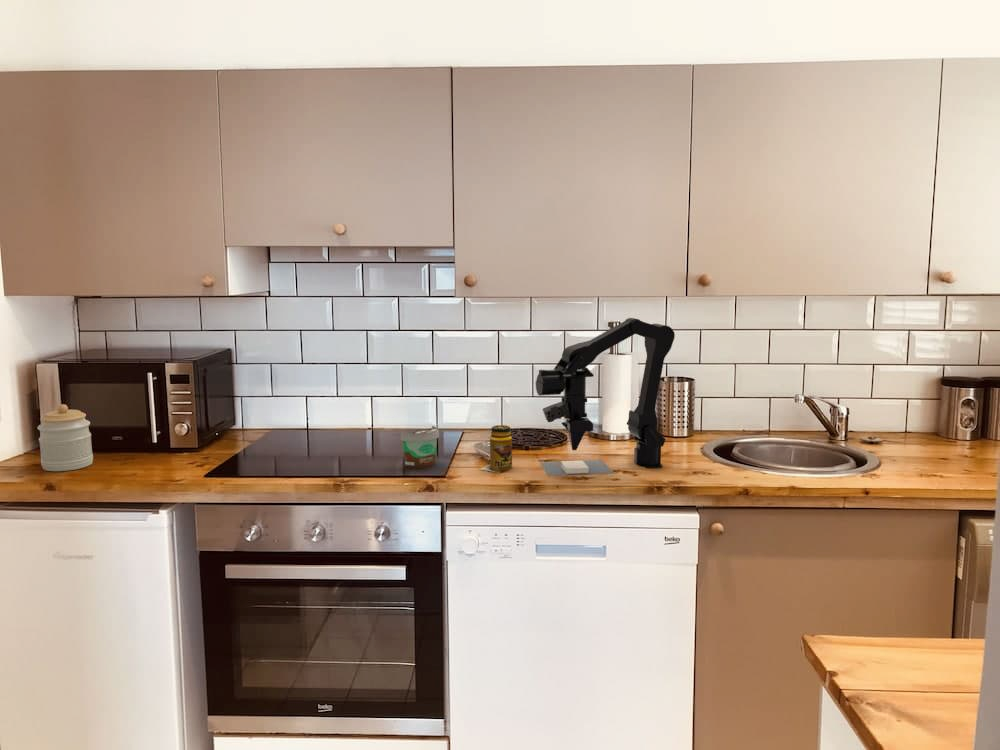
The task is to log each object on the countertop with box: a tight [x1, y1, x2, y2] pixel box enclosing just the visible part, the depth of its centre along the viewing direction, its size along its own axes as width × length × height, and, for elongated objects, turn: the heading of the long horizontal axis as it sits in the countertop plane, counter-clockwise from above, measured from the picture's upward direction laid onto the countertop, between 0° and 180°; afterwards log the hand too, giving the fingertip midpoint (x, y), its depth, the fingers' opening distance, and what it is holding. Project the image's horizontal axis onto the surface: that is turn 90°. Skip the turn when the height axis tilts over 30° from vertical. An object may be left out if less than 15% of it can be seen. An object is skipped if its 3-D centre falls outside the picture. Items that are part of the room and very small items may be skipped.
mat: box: [539, 459, 615, 477], centre depth 218 cm, size 18×14×1 cm
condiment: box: [479, 424, 513, 474], centre depth 218 cm, size 7×8×12 cm
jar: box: [37, 403, 94, 472], centre depth 222 cm, size 13×13×18 cm
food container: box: [400, 425, 440, 469], centre depth 222 cm, size 12×6×10 cm, turn 137°
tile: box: [560, 460, 588, 474], centre depth 215 cm, size 6×2×7 cm
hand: (574, 450), depth 215 cm, fingers closed
